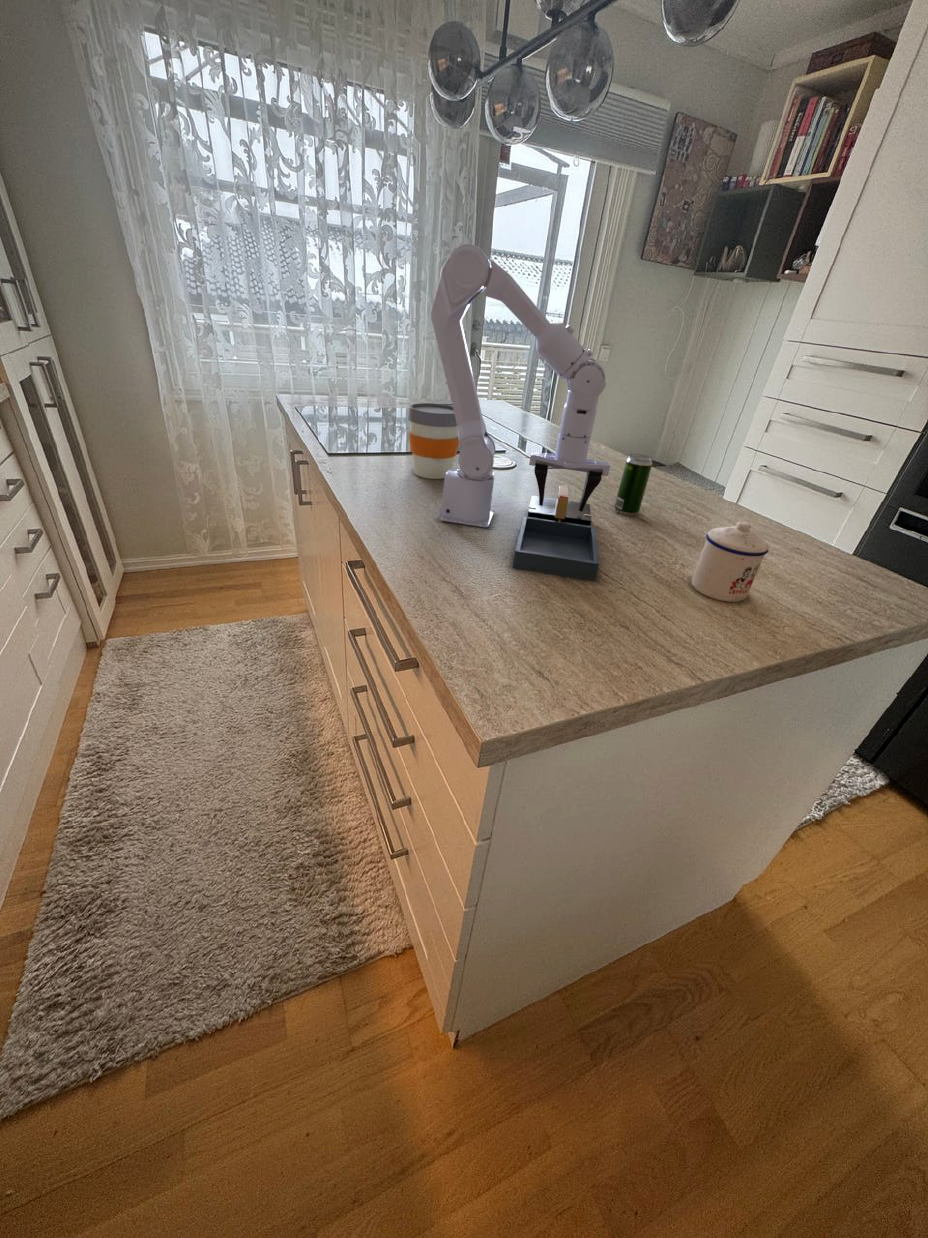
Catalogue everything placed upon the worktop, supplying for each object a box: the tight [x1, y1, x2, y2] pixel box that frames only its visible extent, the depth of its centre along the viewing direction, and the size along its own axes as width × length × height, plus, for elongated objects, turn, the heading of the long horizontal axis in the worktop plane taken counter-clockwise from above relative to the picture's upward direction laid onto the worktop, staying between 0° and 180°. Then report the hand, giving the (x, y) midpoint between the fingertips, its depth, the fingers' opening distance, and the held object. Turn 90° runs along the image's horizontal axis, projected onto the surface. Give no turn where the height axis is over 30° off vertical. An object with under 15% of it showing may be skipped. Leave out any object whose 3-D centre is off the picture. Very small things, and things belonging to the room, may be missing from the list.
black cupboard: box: [527, 495, 592, 526], centre depth 102 cm, size 14×12×4 cm
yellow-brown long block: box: [555, 484, 570, 519], centre depth 99 cm, size 8×2×4 cm, turn 170°
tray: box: [512, 516, 600, 582], centre depth 91 cm, size 14×17×3 cm
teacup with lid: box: [691, 521, 770, 603], centre depth 83 cm, size 12×9×12 cm
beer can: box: [614, 453, 653, 517], centre depth 111 cm, size 5×5×12 cm
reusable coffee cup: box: [407, 402, 460, 480], centre depth 122 cm, size 13×13×15 cm
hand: (560, 506), depth 100 cm, fingers open, 7 cm apart
